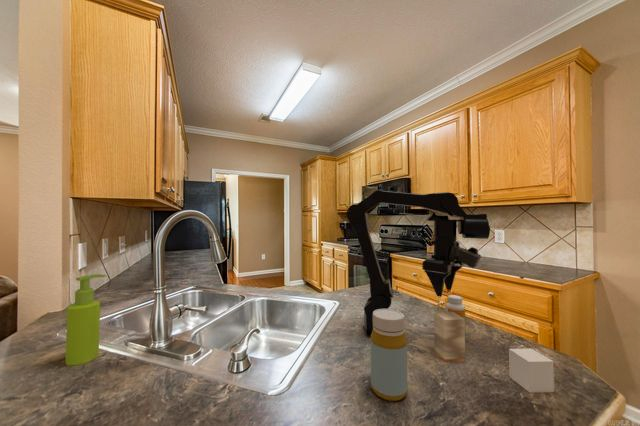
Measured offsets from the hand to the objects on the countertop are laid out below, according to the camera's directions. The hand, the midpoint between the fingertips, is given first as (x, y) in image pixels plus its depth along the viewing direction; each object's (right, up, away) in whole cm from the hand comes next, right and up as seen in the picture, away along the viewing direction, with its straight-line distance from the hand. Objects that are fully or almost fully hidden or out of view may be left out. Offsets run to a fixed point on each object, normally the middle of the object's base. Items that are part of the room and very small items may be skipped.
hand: (444, 292), depth 70 cm
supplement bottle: (+8, -14, +8) cm, 18 cm away
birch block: (-3, -13, -8) cm, 16 cm away
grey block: (+9, -13, -19) cm, 24 cm away
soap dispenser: (-93, -13, -9) cm, 94 cm away
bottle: (-21, -13, -21) cm, 32 cm away
